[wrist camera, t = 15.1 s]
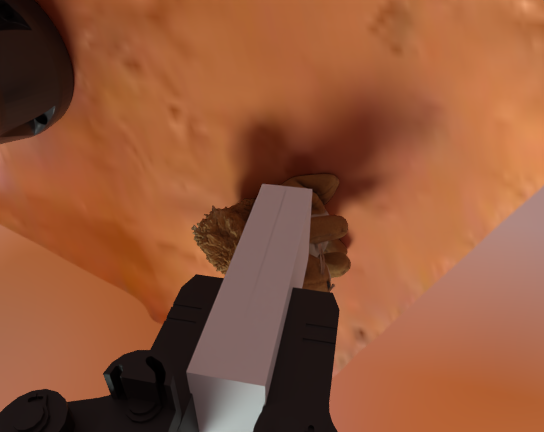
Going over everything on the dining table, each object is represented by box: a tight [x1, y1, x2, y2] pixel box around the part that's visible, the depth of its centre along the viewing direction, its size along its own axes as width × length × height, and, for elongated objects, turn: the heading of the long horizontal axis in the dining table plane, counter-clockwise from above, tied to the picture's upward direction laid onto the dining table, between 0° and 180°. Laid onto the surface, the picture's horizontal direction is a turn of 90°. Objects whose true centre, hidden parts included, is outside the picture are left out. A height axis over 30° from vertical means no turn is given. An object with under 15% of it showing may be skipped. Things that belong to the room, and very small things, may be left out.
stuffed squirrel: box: [191, 174, 351, 292], centre depth 42 cm, size 10×14×13 cm
